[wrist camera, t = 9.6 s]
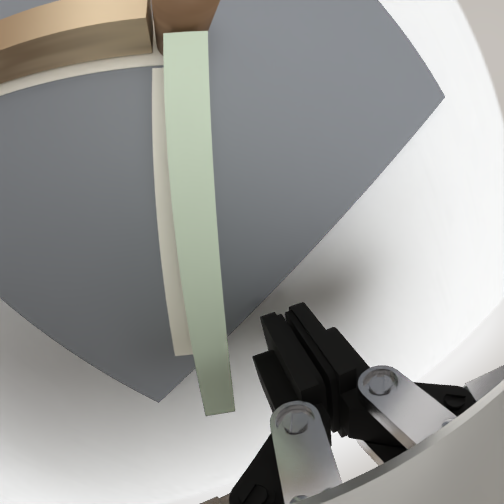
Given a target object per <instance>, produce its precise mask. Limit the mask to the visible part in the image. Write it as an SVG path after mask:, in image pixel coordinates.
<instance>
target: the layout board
mask: <svg viewBox="0 0 504 504" xmlns="http://www.w3.org/2000/svg"><path fill="white" fill-rule="evenodd" d="M55 1H59V0H0V20H1V19H4V18H6V17H9V16H12V15H14V14H17V13H20V12H23V11H26V10H29V9H32V8H35V7H38V6H41V5H44V4H48V3H51V2H55ZM151 8H152V4H151ZM152 17H153V13H152ZM153 25H154V21H153ZM208 59H209V89H210V113H211V134H212V153H213V170H214V186H215V202H216V216H217V230H218V243H219V255H220V267H221V279H222V291H223V302H224V312H225V323H226V333H227V337H228V336H229V335H230V334H231V333H232V332H233V331H234V330H235V329H236V328H237V327H238V326H239V325H240V324H241V323H242V322H243V321H244V320H245V319H246V318H247V317H248V316H249V315H250V314H251V313H252V312H253V311H254V310H255V309H256V308H257V306H258V305H259V304H260V303H261V302H262V301H263V300H264V299H265V298H266V297H267V296H268V295H269V294H270V293H271V292H272V291H273V290H274V289H275V288H276V287H277V286H278V285H279V284H280V283H281V282H282V281H283V280H284V279H285V278H286V277H287V276H288V274H289V273H290V272H291V271H292V270H293V269H294V268H295V267H296V266H297V265H298V264H299V263H300V262H301V261H302V260H303V259H304V258H305V257H306V255H307V254H308V253H309V252H310V251H311V250H312V249H313V248H314V247H315V246H316V245H317V244H318V243H319V242H320V240H321V239H322V238H323V237H324V236H325V235H326V234H327V233H328V232H329V231H330V230H331V229H332V227H333V226H334V225H335V224H336V223H337V222H338V221H339V220H340V219H341V218H342V217H343V215H344V214H345V213H346V212H347V211H348V210H349V209H350V208H351V207H352V205H353V204H354V203H355V202H356V201H357V200H358V199H359V198H360V197H361V195H362V194H363V193H364V192H365V191H366V190H367V189H368V188H369V186H370V185H371V184H372V183H373V182H374V181H375V180H376V178H377V177H378V176H379V175H380V174H381V173H382V172H383V170H384V169H385V168H386V167H387V166H388V165H389V164H390V162H391V161H392V160H393V159H394V158H395V157H396V155H397V154H398V153H399V152H400V151H401V150H402V148H403V147H404V146H405V145H406V144H407V143H408V141H409V140H410V139H411V138H412V137H413V135H414V134H415V133H416V132H417V131H418V129H419V128H420V127H421V126H422V125H423V123H424V122H425V121H426V120H427V119H428V117H429V116H430V115H431V114H432V113H433V111H434V110H435V109H436V108H437V106H438V105H439V104H440V103H441V101H442V100H443V99H444V98H445V96H444V94H443V92H442V90H441V89H440V87H439V85H438V84H437V82H436V80H435V79H434V77H433V75H432V74H431V72H430V70H429V69H428V67H427V66H426V64H425V63H424V61H423V60H422V58H421V57H420V55H419V54H418V52H417V51H416V49H415V48H414V46H413V45H412V43H411V42H410V41H409V39H408V38H407V36H406V35H405V34H404V32H403V31H402V30H401V28H400V27H399V26H398V24H397V23H396V22H395V21H394V19H393V18H392V17H391V15H390V14H389V13H388V12H387V11H386V9H385V8H384V7H383V6H382V4H381V3H380V2H379V1H378V0H220V2H219V5H218V7H217V10H216V12H215V15H214V17H213V20H212V22H211V25H210V28H209V30H208ZM0 298H1V299H2V300H3V301H4V302H6V303H7V304H8V305H9V306H10V307H12V308H13V309H14V310H15V311H16V312H18V313H19V314H20V315H21V316H23V317H24V318H25V319H26V320H28V321H29V322H30V323H32V324H33V325H34V326H36V327H37V328H38V329H40V330H41V331H42V332H44V333H45V334H46V335H48V336H49V337H50V338H52V339H53V340H55V341H56V342H57V343H59V344H60V345H62V346H63V347H65V348H66V349H68V350H69V351H71V352H72V353H74V354H75V355H77V356H78V357H80V358H81V359H83V360H84V361H86V362H87V363H89V364H91V365H92V366H94V367H95V368H97V369H99V370H100V371H102V372H104V373H105V374H107V375H109V376H110V377H112V378H114V379H116V380H117V381H119V382H121V383H123V384H124V385H126V386H128V387H130V388H132V389H133V390H135V391H137V392H139V393H141V394H143V395H145V396H147V397H149V398H151V399H153V400H155V401H157V402H160V401H161V400H162V399H163V398H164V397H165V396H166V395H167V394H169V393H170V392H171V391H172V390H173V389H174V388H175V387H176V386H177V385H178V384H179V383H180V382H181V381H182V380H183V379H184V378H185V377H187V376H188V375H189V374H190V373H191V372H192V371H193V370H194V369H195V368H196V367H195V361H194V356H193V351H192V345H191V340H190V334H189V328H188V322H187V316H186V310H185V304H184V297H183V290H182V284H181V277H180V269H179V262H178V254H177V246H176V238H175V230H174V221H173V211H172V201H171V191H170V180H169V168H168V154H167V139H166V122H165V100H164V59H163V56H162V55H161V54H160V52H159V51H158V49H157V45H156V37H155V29H154V32H153V52H152V53H146V54H136V55H127V56H119V57H111V58H105V59H98V60H92V61H87V62H81V63H76V64H71V65H67V66H62V67H58V68H53V69H49V70H45V71H41V72H38V73H34V74H30V75H27V76H23V77H20V78H17V79H13V80H10V81H7V82H4V83H1V84H0Z"/></svg>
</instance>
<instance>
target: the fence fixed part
mask: <svg viewBox="0 0 504 504" xmlns="http://www.w3.org/2000/svg"><path fill="white" fill-rule="evenodd" d="M219 2H220V0H59V1H55V2H51V3H48V4H44V5H41V6H38V7H35V8H32V9H29V10H26V11H23V12H20V13H17V14H14V15H12V16H9V17H6V18H4V19H1V20H0V84H1V83H4V82H7V81H10V80H13V79H17V78H20V77H23V76H27V75H30V74H34V73H38V72H41V71H45V70H49V69H53V68H58V67H62V66H67V65H71V64H76V63H81V62H87V61H92V60H98V59H105V58H111V57H119V56H127V55H136V54H146V53H152V52H153V32H154V29H155V37H156V45H157V49H158V51H159V52H160V54H161V55H162V56H163V33H174V32H191V31H208V30H209V28H210V25H211V22H212V20H213V17H214V15H215V12H216V10H217V7H218V5H219ZM151 4H152V8H151ZM152 13H153V17H152ZM153 21H154V25H153Z"/></svg>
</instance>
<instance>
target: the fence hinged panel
mask: <svg viewBox="0 0 504 504" xmlns="http://www.w3.org/2000/svg"><path fill="white" fill-rule="evenodd" d="M163 59H164V100H165V122H166V139H167V154H168V168H169V180H170V191H171V201H172V211H173V221H174V230H175V238H176V246H177V254H178V262H179V269H180V277H181V284H182V290H183V297H184V304H185V310H186V316H187V322H188V328H189V334H190V340H191V345H192V351H193V356H194V361H195V367H196V372H197V377H198V382H199V387H200V392H201V396H202V401H203V406H204V410H205V415H206V416H210V415H216V414H222V413H228V412H234V411H235V406H234V397H233V389H232V380H231V371H230V362H229V352H228V343H227V333H226V323H225V312H224V302H223V291H222V279H221V267H220V255H219V243H218V230H217V216H216V202H215V186H214V170H213V153H212V134H211V113H210V89H209V59H208V31H191V32H174V33H163Z"/></svg>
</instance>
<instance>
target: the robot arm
mask: <svg viewBox="0 0 504 504" xmlns="http://www.w3.org/2000/svg"><path fill="white" fill-rule="evenodd" d="M285 317H286V320H285V319H284V317H283V315H282V314H279V315H276V313H275V312H273V313H270V314H267V315H264V316H261V317H260V318H261V323H262V327H263V331H264V335H265V339H266V342H267V346H268V350H269V351H267V352H264V353H261V354H258V355H255V356H253V361H254V364H255V367H256V370H257V374H258V377H259V379H260V382H261V385H262V388H263V390H264V393H265V395H266V398H267V400H268V402H269V405H270V407H271V410H272V412H273V414H272V416H271V419H270V427H271V434H270V436H269V437H268V439H267V440H266V442H265V443H264V445H263V446H262V448H261V449H260V451H259V452H258V454H257V455H256V457H255V458H254V459H253V461H252V462H251V464H250V465H249V467H248V468H247V469H246V471H245V472H244V474H243V475H242V476H241V478H240V479H239V481H238V482H237V483H236V485H235V486H234V487H233V489H232V491H231V493H229V494H227V495H225V496H223V497H221V498H218V497H215V498H212V499H210V500H208V501H205V502H203V503H200V504H504V365H503V366H501V367H499V368H497V369H495V370H493V371H491V372H489V373H487V374H484V375H482V376H480V377H478V378H476V379H474V380H471V381H469V382H467V383H465V385H464V387H459V386H451V385H438V384H426V383H416V382H412V381H411V380H409V379H408V378H407V377H406V376H404V375H403V374H402V373H400V372H399V371H398V370H396V369H394V368H393V367H389V366H375V367H371V368H370V367H369V366H368V365H367V364H366V363H365V361H364V360H363V359H362V358H361V357H360V355H359V354H358V353H357V352H356V351H355V350H354V348H353V347H352V346H351V345H350V344H349V342H348V341H347V340H346V339H345V338H344V337H343V335H342V334H341V333H340V332H339V331H338V330H337V329H336V328H335V327H332V328H330V329H327V330H326V329H325V328H324V327H323V326H322V324H321V323H320V322H319V321H318V319H317V318H316V317H315V316H314V314H313V313H312V312H311V311H310V309H309V308H308V307H307V306H306V304H305V303H304V302H302V303H299V304H296V305H294V306H291V307H289V311H288V312H285ZM331 431H332V432H333V433H334V432H336V431H338V433H339V434H340V436H341V437H344V436H347V435H348V437H349V438H353V439H357V442H358V443H359V445H360V446H361V447H362V448H363V449H364V450H365V452H366V453H367V454H368V455H369V456H370V457H371V458H372V459H373V460H374V461H375V462H376V463H377V464H378V465H379V466H378V467H376V468H374V469H372V470H370V471H368V472H366V473H364V474H362V475H360V476H358V477H356V478H354V479H351V480H349V481H347V482H345V483H343V484H342V480H341V478H340V474H339V472H338V468H337V465H336V462H335V459H334V456H333V453H332V450H331Z"/></svg>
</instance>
